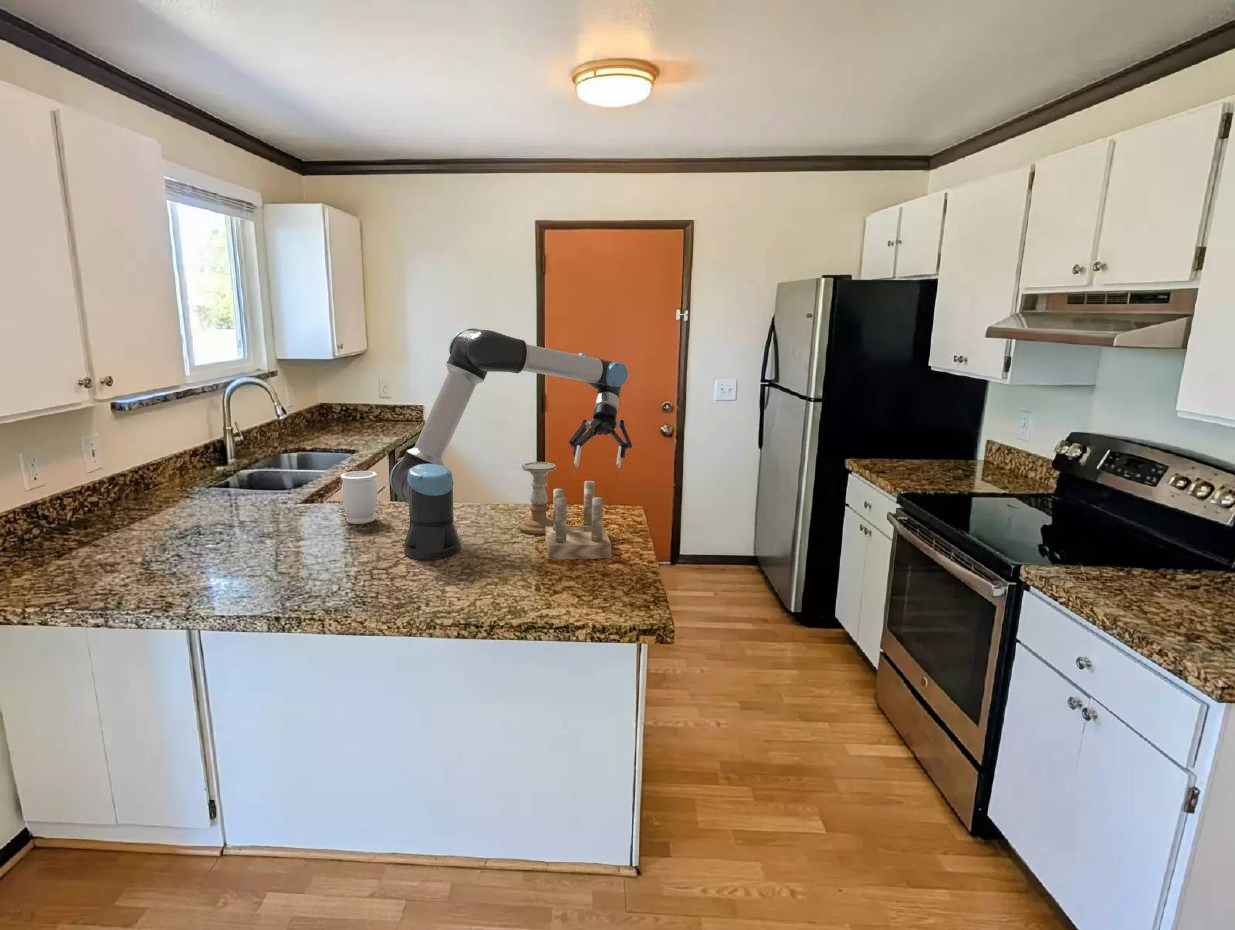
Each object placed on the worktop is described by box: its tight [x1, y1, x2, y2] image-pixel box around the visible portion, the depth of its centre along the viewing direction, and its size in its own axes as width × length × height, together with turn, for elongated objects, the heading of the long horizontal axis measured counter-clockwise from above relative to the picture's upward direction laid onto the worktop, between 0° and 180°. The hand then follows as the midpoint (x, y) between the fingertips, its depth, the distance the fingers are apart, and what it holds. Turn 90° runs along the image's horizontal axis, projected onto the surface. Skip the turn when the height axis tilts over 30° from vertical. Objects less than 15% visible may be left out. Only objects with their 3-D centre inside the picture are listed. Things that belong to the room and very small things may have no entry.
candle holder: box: [518, 461, 557, 535], centre depth 204 cm, size 12×12×20 cm
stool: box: [544, 488, 612, 561], centre depth 188 cm, size 17×17×16 cm
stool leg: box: [583, 480, 596, 526], centre depth 202 cm, size 3×3×16 cm
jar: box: [340, 470, 378, 525], centre depth 207 cm, size 11×10×15 cm
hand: (596, 465), depth 208 cm, fingers open, 13 cm apart
